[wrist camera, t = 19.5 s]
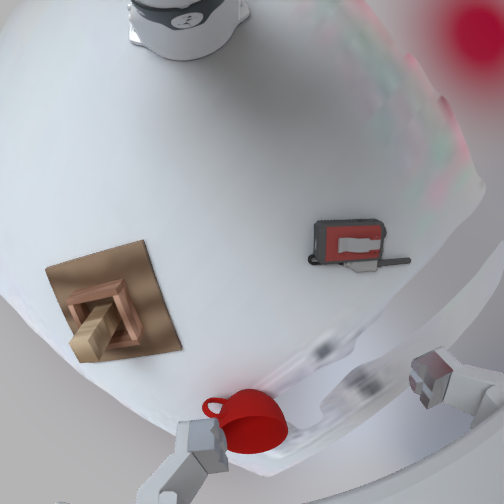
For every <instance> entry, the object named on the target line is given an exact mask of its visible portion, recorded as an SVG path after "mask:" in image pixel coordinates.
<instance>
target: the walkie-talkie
mask: <svg viewBox="0 0 504 504" xmlns="http://www.w3.org/2000/svg"><path fill="white" fill-rule="evenodd" d="M355 223H356V224H355ZM386 233H387V232H386V228H385V226H384V223H383V222H381V221H379V220H377V219H352V220H350V219H349V220H334V221H333V220H331V221H329V220H327V221H326V220H324V221H322V220H321V221H319V220H318V221H317V222H316V223H315V224H314V253H313V254H312V255H310V256H309V257H308V262H309V263H310V264H312V265H322V264H335V263H338V264H340V265H343V266H344V267H345V266H349V267H350V268H351V269H353V270H354V271H355V272H365V271H372V272H374V271H376V270H377V267H381V266H387V265H397V264H408V263H411V259H410V258H399V259H388V260H381V259H380V258H381V256H382V252H383V251H384V248H383V240H384V238H385V236H386ZM313 257H314V258H315V259H316V260H317V261H318V262H312V261H311V258H313Z"/></svg>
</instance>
